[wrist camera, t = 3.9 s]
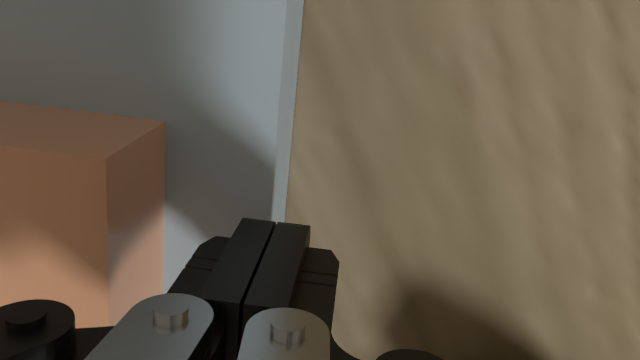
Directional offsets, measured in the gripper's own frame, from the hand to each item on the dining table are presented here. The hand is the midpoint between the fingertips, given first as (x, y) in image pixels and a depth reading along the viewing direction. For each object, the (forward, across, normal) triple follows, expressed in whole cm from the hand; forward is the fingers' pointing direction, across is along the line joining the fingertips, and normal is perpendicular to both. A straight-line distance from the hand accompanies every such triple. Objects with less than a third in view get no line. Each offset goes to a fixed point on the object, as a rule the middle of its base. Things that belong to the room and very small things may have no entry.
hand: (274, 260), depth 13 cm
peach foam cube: (+1, +5, 0) cm, 5 cm away
